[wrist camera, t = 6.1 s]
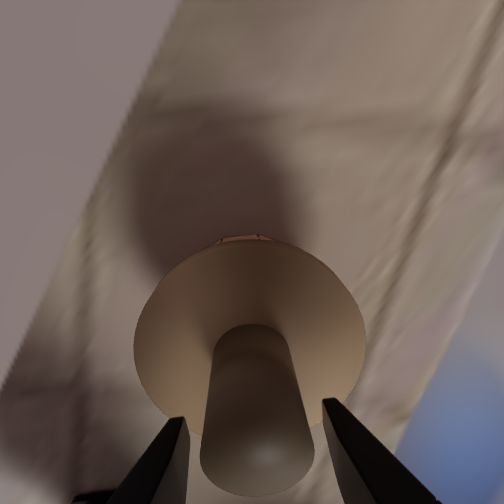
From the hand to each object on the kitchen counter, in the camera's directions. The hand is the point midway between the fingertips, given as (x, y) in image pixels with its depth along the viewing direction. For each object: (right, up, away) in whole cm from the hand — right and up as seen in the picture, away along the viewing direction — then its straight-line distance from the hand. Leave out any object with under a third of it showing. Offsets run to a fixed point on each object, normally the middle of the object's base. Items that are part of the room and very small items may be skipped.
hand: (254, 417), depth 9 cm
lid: (0, +1, +4) cm, 4 cm away
